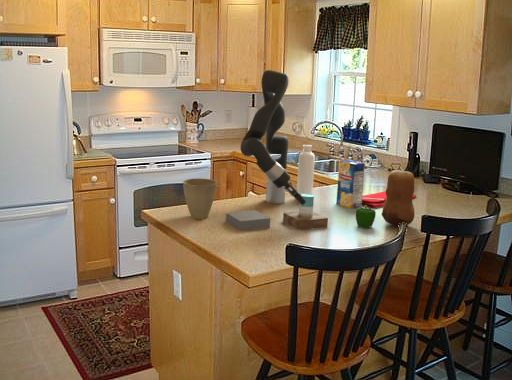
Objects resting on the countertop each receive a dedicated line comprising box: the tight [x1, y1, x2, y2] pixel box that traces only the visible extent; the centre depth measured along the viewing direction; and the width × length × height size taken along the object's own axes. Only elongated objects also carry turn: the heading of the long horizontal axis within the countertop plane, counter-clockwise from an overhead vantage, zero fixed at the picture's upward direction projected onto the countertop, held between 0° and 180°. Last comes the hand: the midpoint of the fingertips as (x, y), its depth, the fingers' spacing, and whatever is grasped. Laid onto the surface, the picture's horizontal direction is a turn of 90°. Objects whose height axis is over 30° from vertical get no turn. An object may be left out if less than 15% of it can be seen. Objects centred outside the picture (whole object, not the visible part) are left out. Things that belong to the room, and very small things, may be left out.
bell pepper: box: [355, 205, 377, 229], centre depth 252 cm, size 8×8×10 cm
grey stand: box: [225, 209, 271, 231], centre depth 248 cm, size 14×14×4 cm
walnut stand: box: [282, 210, 329, 231], centre depth 253 cm, size 14×14×4 cm
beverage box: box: [336, 159, 366, 209], centre depth 288 cm, size 7×11×22 cm, turn 35°
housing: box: [298, 193, 315, 217], centre depth 251 cm, size 5×5×9 cm
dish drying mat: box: [361, 190, 417, 210], centre depth 304 cm, size 16×41×4 cm, turn 136°
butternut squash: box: [381, 169, 415, 228], centre depth 254 cm, size 14×13×25 cm
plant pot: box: [182, 177, 218, 220], centre depth 255 cm, size 15×15×16 cm
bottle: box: [296, 144, 316, 195], centre depth 296 cm, size 8×8×28 cm
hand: (302, 201), depth 250 cm, fingers open, 8 cm apart
